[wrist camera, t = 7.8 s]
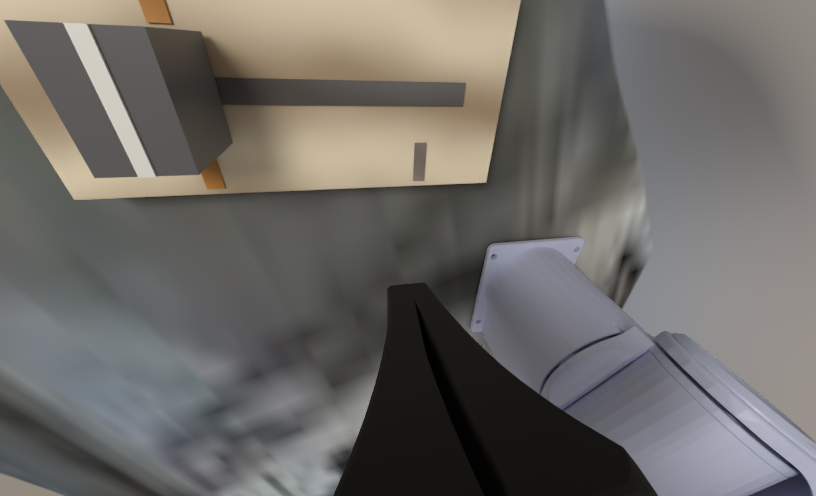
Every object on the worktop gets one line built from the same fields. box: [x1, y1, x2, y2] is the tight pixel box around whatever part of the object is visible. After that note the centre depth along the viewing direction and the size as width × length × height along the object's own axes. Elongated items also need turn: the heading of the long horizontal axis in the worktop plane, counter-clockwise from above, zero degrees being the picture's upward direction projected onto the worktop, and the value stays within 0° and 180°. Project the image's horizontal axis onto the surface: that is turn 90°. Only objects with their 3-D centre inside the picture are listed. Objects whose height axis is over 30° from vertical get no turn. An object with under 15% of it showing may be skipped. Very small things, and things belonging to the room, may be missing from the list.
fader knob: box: [4, 20, 233, 178], centre depth 10 cm, size 4×3×4 cm
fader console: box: [0, 0, 521, 200], centre depth 14 cm, size 9×20×2 cm, turn 87°
